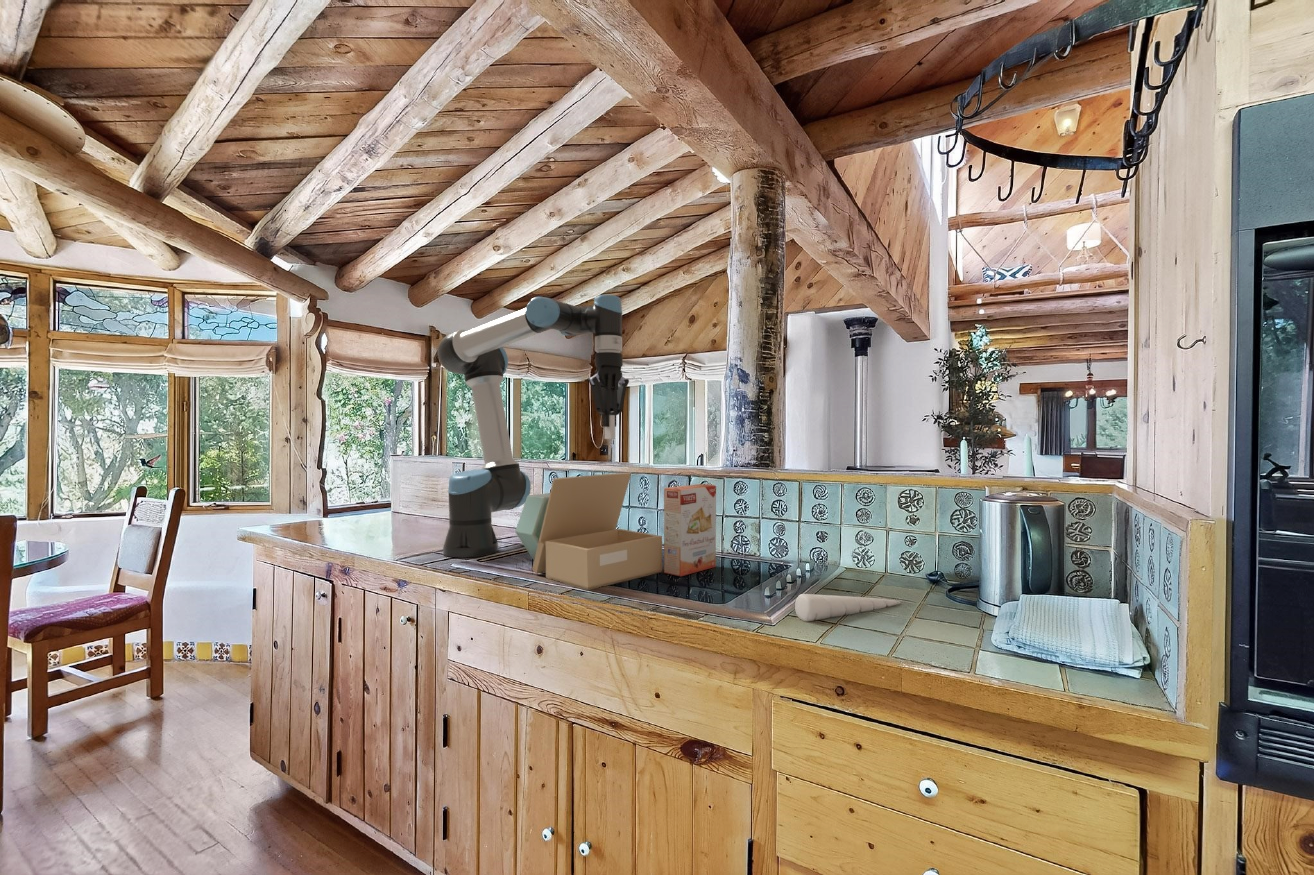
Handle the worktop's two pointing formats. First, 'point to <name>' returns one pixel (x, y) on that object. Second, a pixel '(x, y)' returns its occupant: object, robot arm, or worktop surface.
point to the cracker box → (689, 529)
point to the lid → (581, 509)
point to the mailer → (603, 558)
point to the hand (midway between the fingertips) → (609, 438)
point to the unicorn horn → (835, 605)
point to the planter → (532, 521)
